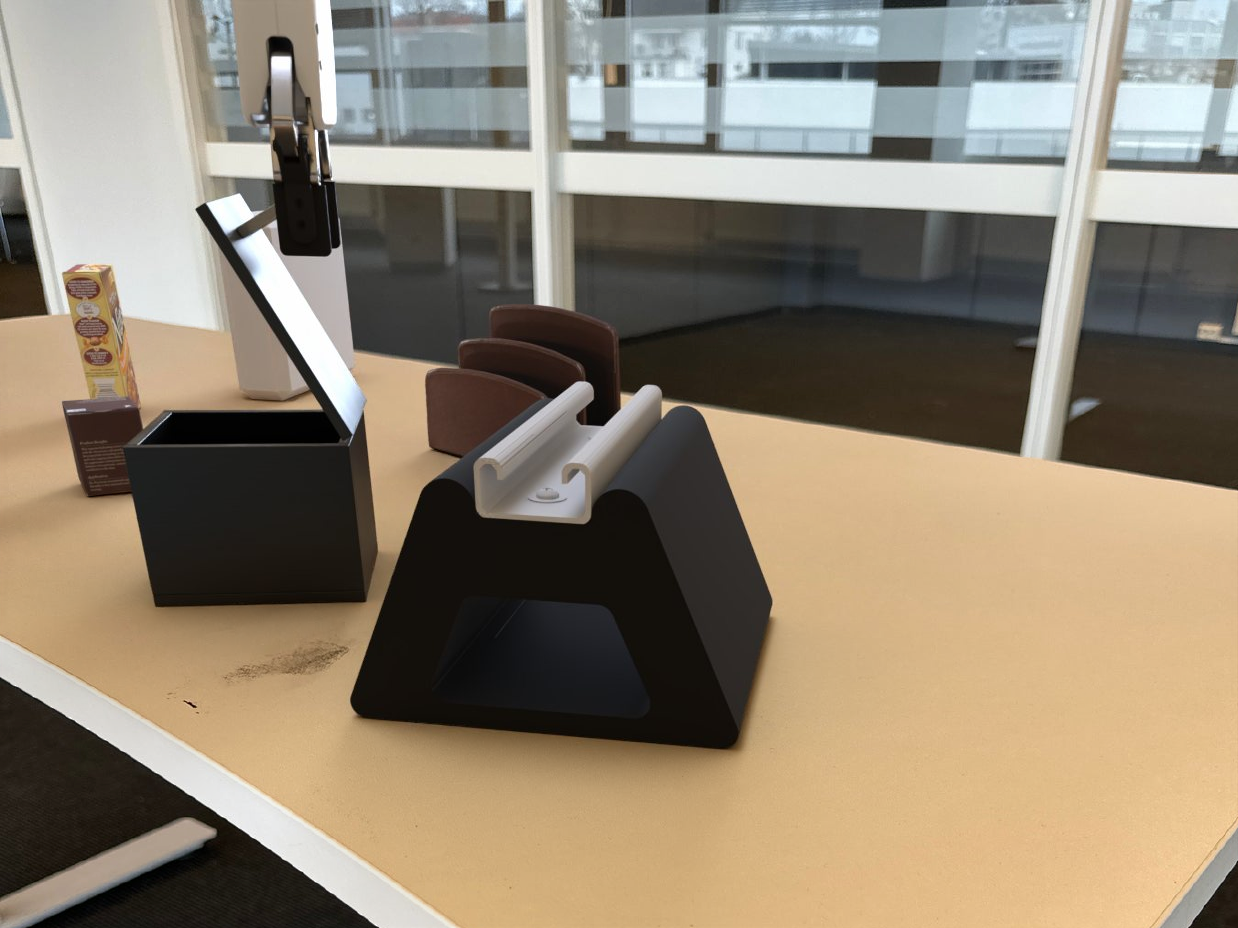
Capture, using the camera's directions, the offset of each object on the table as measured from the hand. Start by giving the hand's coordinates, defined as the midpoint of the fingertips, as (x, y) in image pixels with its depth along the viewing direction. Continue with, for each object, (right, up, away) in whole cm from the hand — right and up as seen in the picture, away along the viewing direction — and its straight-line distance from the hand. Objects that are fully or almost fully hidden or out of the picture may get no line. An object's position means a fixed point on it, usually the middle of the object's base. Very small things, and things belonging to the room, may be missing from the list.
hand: (311, 248), depth 81 cm
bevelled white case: (-24, +22, +78) cm, 84 cm away
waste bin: (-6, -19, +11) cm, 23 cm away
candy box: (-40, +12, +60) cm, 73 cm away
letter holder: (+9, +2, +45) cm, 46 cm away
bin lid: (-2, -4, +2) cm, 5 cm away
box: (-27, -6, +33) cm, 43 cm away
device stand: (+18, -28, -2) cm, 34 cm away
